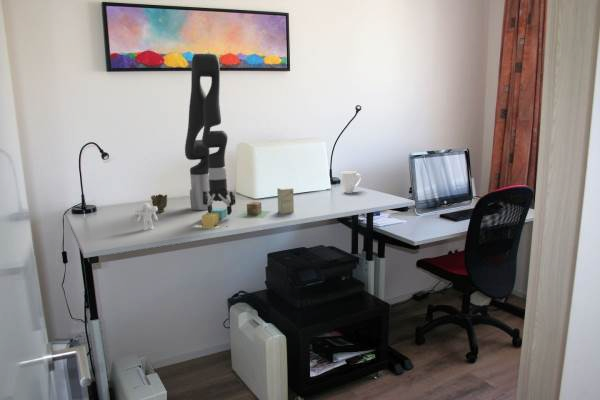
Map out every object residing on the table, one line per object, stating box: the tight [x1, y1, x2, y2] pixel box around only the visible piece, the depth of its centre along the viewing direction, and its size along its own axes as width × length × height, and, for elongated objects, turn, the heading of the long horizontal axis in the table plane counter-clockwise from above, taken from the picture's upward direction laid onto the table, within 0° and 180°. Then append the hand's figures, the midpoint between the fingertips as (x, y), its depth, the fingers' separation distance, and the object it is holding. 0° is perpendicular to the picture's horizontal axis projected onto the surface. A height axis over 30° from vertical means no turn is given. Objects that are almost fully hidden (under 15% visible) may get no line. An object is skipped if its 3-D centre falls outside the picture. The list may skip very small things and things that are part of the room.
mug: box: [340, 170, 362, 194], centre depth 259 cm, size 12×8×11 cm
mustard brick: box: [201, 212, 220, 229], centre depth 198 cm, size 5×5×5 cm
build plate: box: [237, 209, 272, 219], centre depth 212 cm, size 12×12×1 cm
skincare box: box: [277, 186, 295, 215], centre depth 214 cm, size 6×4×12 cm
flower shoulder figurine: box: [134, 200, 159, 231], centre depth 195 cm, size 9×4×12 cm, turn 112°
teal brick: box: [211, 207, 228, 220], centre depth 207 cm, size 5×5×5 cm
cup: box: [150, 193, 168, 213], centre depth 225 cm, size 8×7×8 cm
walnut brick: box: [246, 201, 263, 215], centre depth 212 cm, size 5×5×5 cm
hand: (220, 214), depth 206 cm, fingers open, 8 cm apart
